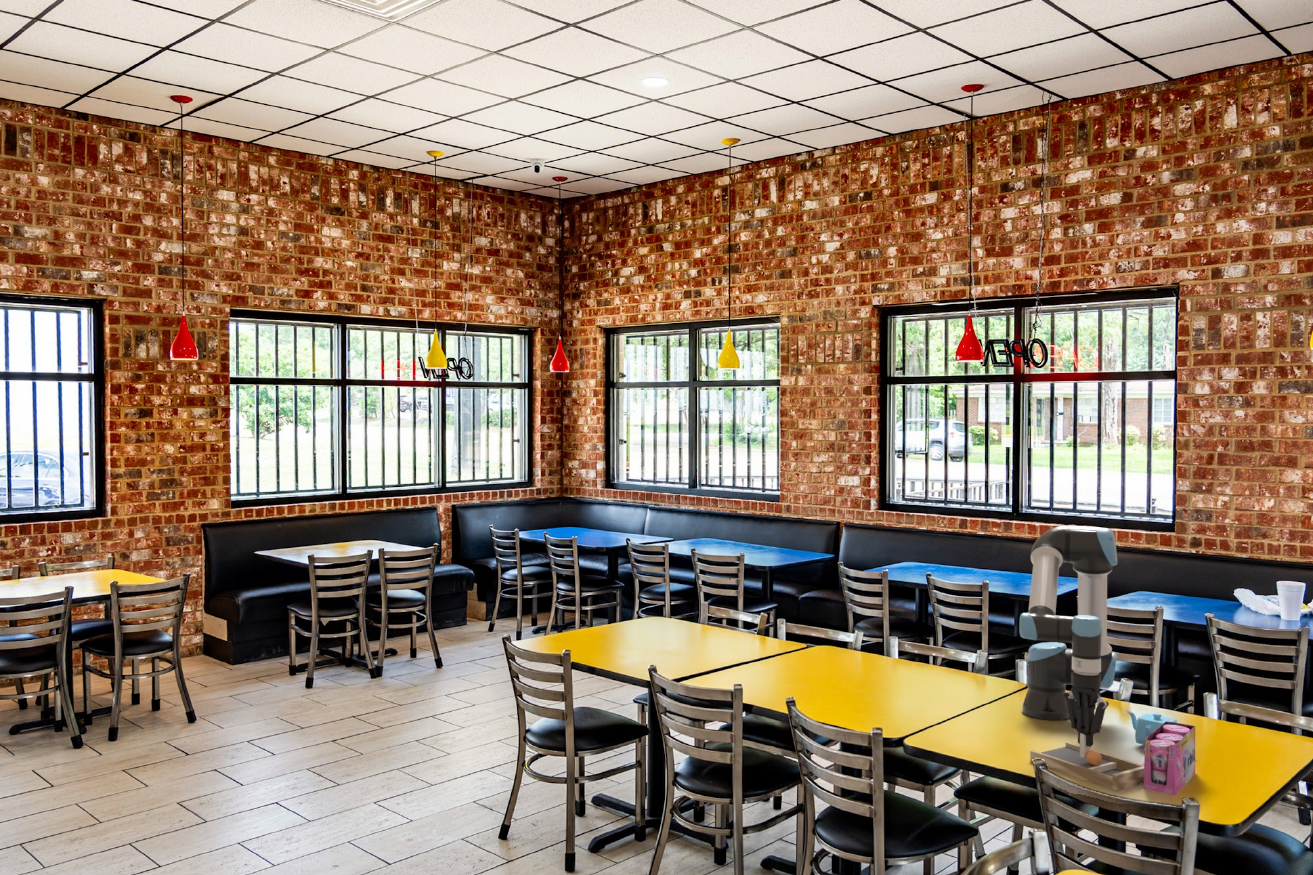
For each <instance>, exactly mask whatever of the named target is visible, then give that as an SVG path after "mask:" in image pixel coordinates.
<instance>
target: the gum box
mask: <svg viewBox="0 0 1313 875" xmlns="http://www.w3.org/2000/svg"><path fill="white" fill-rule="evenodd" d="M1143 765H1144V783H1143V788H1142V789H1143V790H1147V791H1150V792H1155V793H1160V794H1165V795H1169V796H1172V797H1173V796H1175V797H1176V796H1177V794H1179V792H1180V791H1181V790H1182V789H1183V788H1184V787H1185V786H1186V785H1187V783H1189V781H1190V780H1191V779H1192V778H1193V777H1194V776H1195V775H1196V726H1195V725H1190V724H1185V723H1179V722H1177V723H1175V722H1168V721H1166V722H1164V723H1163V724H1162V725H1161V726H1160V727H1159V728H1158V729H1156V730H1155V731H1154V732H1153V733H1152V734H1150V735H1149V736H1148V737H1147V738H1146V739H1145V748H1144V763H1143Z"/></svg>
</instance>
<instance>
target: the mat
mask: <svg viewBox="0 0 1313 875" xmlns="http://www.w3.org/2000/svg"><path fill="white" fill-rule="evenodd" d="M1040 753H1043V754H1046V755H1049V756H1052V757H1055V758H1058V759H1062V760H1065V761H1068V762H1071V763H1074V764H1077V765H1080V766H1083V767H1086V768H1089V769H1092V770H1095V771H1098V772H1101V773H1104V774H1107V775H1110V776H1113V774H1116V773H1120V772H1123V771H1124V770H1120V769H1117V768H1116V763H1115V762H1112V761H1109V760H1106V759H1103V758H1102V761H1101V763H1100V764H1099V765H1091V764H1089V763H1088V761H1087V759H1086V758H1082V757H1080V751H1078V750H1075V749H1071V748H1068V747H1065V746H1062V747H1058V748H1055V749H1050V750H1046V751H1042V752H1040Z"/></svg>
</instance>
